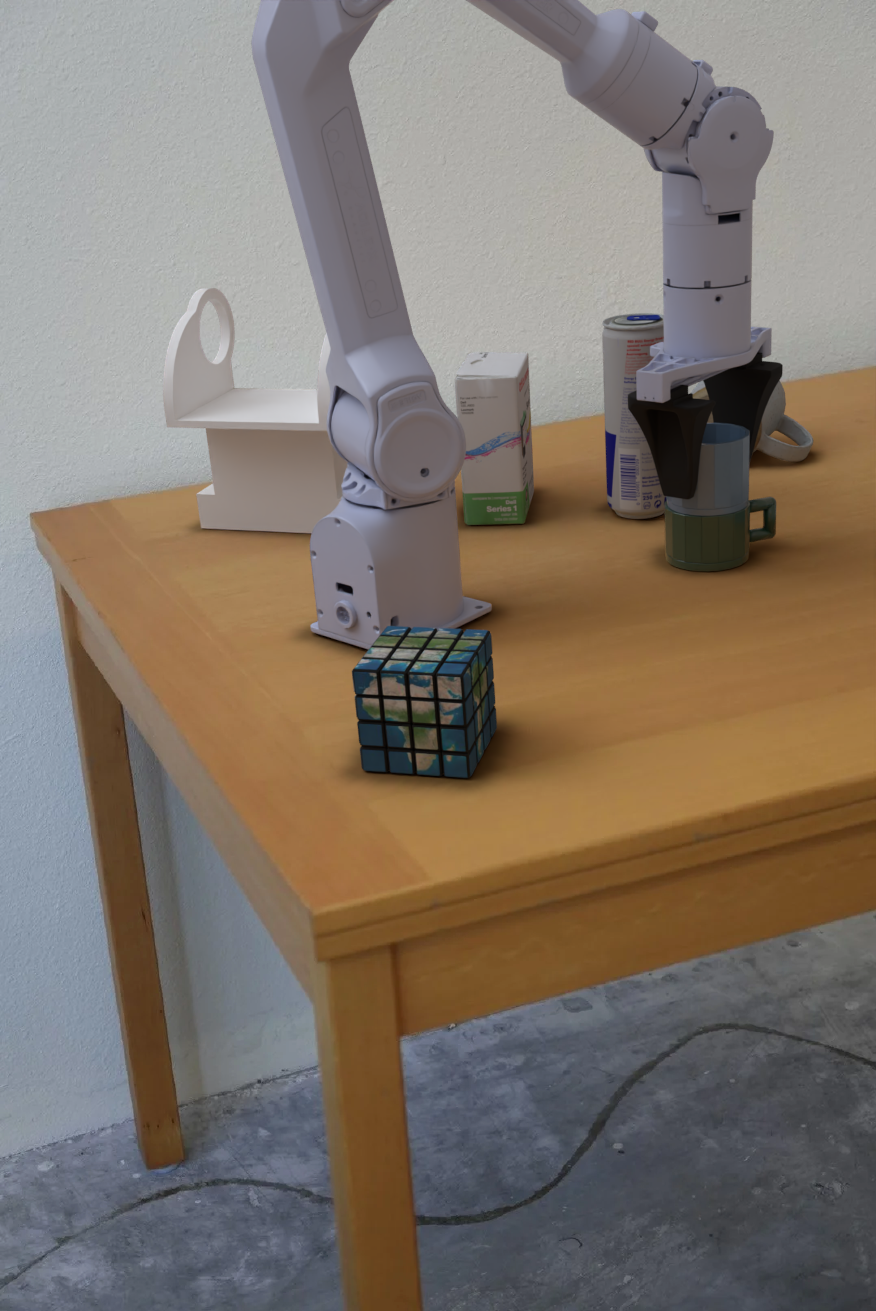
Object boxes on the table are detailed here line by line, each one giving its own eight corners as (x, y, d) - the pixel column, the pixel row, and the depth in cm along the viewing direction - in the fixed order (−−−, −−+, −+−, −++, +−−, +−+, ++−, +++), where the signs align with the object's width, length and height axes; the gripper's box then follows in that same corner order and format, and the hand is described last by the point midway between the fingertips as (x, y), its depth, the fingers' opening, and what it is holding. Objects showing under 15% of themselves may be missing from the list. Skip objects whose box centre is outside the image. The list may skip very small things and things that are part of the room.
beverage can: (672, 499, 117) (670, 308, 111) (675, 520, 112) (673, 322, 106) (607, 502, 117) (601, 312, 111) (607, 522, 113) (601, 325, 107)
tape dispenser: (183, 539, 116) (149, 309, 109) (254, 489, 127) (227, 277, 120) (349, 547, 112) (324, 307, 105) (407, 495, 123) (389, 275, 116)
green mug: (687, 577, 101) (687, 521, 99) (651, 551, 106) (650, 498, 105) (795, 557, 103) (796, 502, 101) (755, 533, 108) (755, 480, 107)
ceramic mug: (675, 466, 125) (676, 376, 122) (698, 439, 131) (700, 353, 128) (802, 474, 121) (806, 381, 118) (819, 446, 127) (824, 358, 124)
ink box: (526, 525, 114) (518, 373, 109) (462, 526, 114) (452, 375, 110) (536, 491, 121) (530, 348, 116) (476, 492, 122) (467, 350, 117)
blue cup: (765, 502, 102) (767, 432, 100) (705, 521, 99) (705, 449, 97) (709, 486, 106) (709, 418, 104) (650, 503, 103) (649, 434, 101)
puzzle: (470, 780, 77) (463, 674, 74) (361, 772, 78) (350, 669, 76) (497, 728, 82) (491, 628, 80) (395, 722, 84) (385, 624, 81)
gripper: (708, 260, 104) (708, 447, 109) (594, 298, 94) (600, 502, 99) (800, 264, 100) (796, 458, 105) (691, 304, 90) (691, 517, 95)
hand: (706, 481), depth 102 cm, fingers open, 7 cm apart
